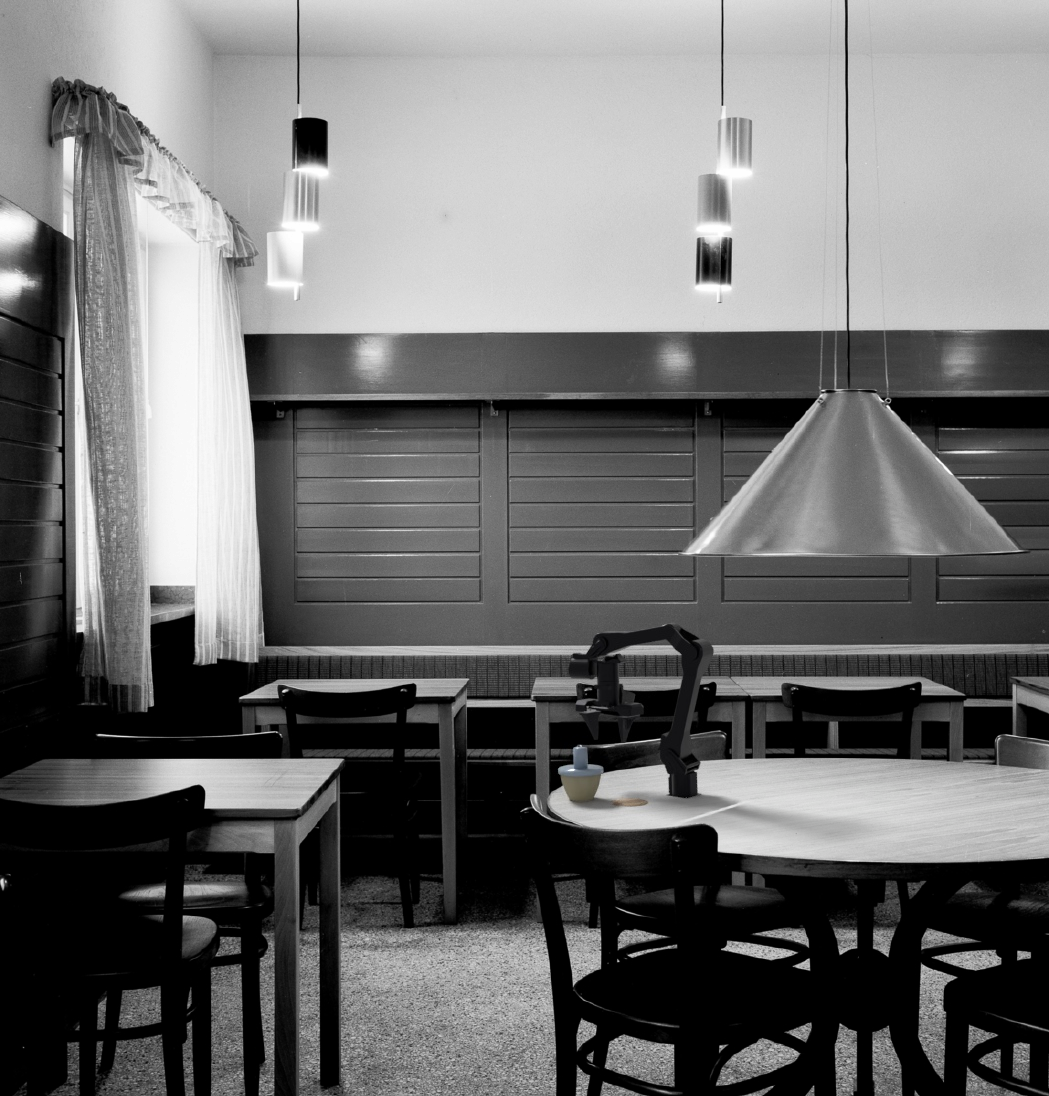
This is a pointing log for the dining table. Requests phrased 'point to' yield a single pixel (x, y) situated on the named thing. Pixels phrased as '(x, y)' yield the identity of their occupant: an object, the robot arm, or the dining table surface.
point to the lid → (580, 765)
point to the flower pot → (581, 787)
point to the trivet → (629, 802)
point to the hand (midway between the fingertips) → (609, 740)
